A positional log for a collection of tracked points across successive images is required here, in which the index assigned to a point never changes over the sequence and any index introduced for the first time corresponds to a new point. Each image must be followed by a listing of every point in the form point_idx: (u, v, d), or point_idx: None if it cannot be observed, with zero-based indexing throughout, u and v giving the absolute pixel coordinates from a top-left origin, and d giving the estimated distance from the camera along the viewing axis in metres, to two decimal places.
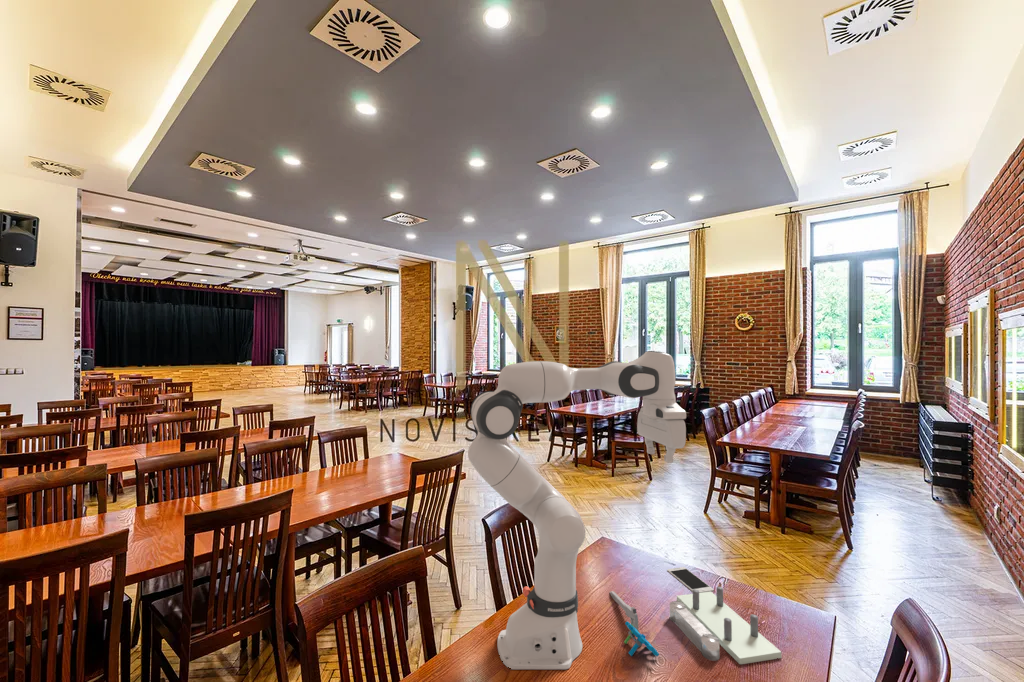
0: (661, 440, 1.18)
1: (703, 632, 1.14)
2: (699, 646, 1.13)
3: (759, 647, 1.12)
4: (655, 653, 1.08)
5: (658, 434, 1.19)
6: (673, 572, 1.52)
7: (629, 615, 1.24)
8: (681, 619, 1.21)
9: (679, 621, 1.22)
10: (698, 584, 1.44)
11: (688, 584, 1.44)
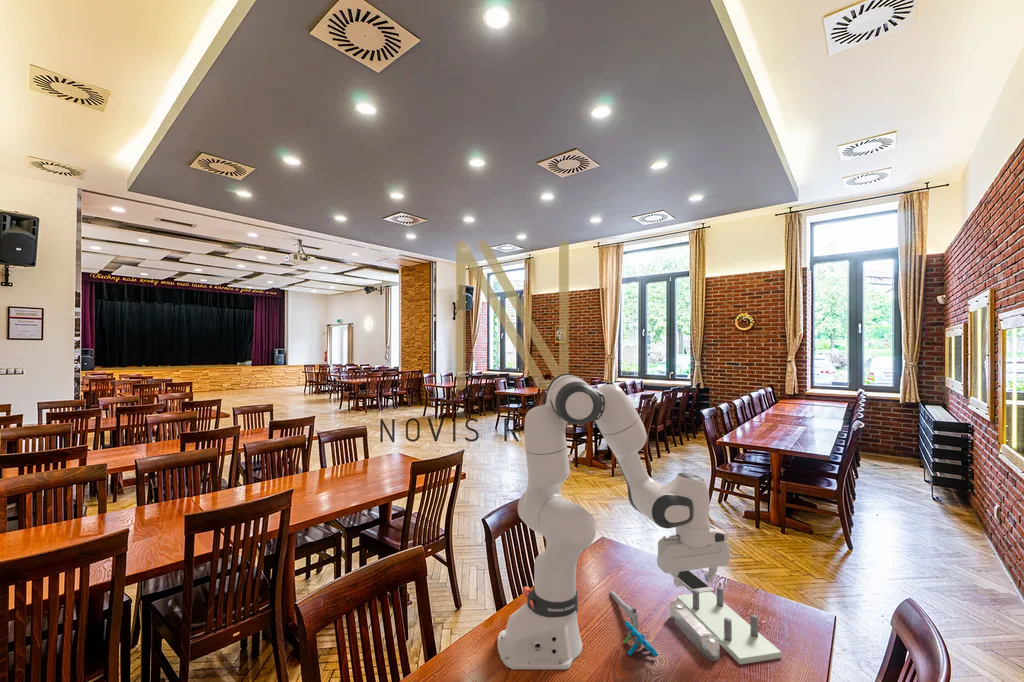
0: (711, 563, 1.18)
1: (703, 632, 1.14)
2: (699, 646, 1.13)
3: (759, 647, 1.12)
4: (654, 653, 1.08)
5: (706, 560, 1.18)
6: None
7: (629, 615, 1.24)
8: (681, 619, 1.21)
9: (679, 621, 1.22)
10: (698, 584, 1.44)
11: (687, 584, 1.44)
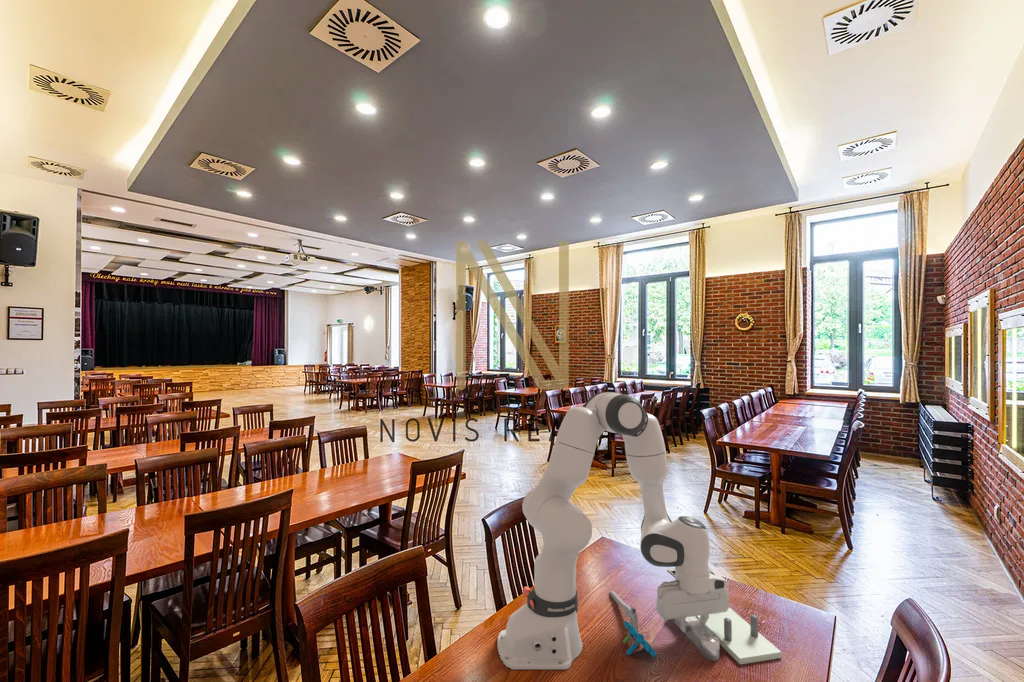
0: (710, 610, 1.18)
1: (703, 631, 1.14)
2: (699, 646, 1.13)
3: (759, 647, 1.12)
4: (652, 653, 1.08)
5: (705, 606, 1.18)
6: (673, 572, 1.52)
7: (629, 615, 1.24)
8: None
9: (679, 621, 1.22)
10: None
11: None
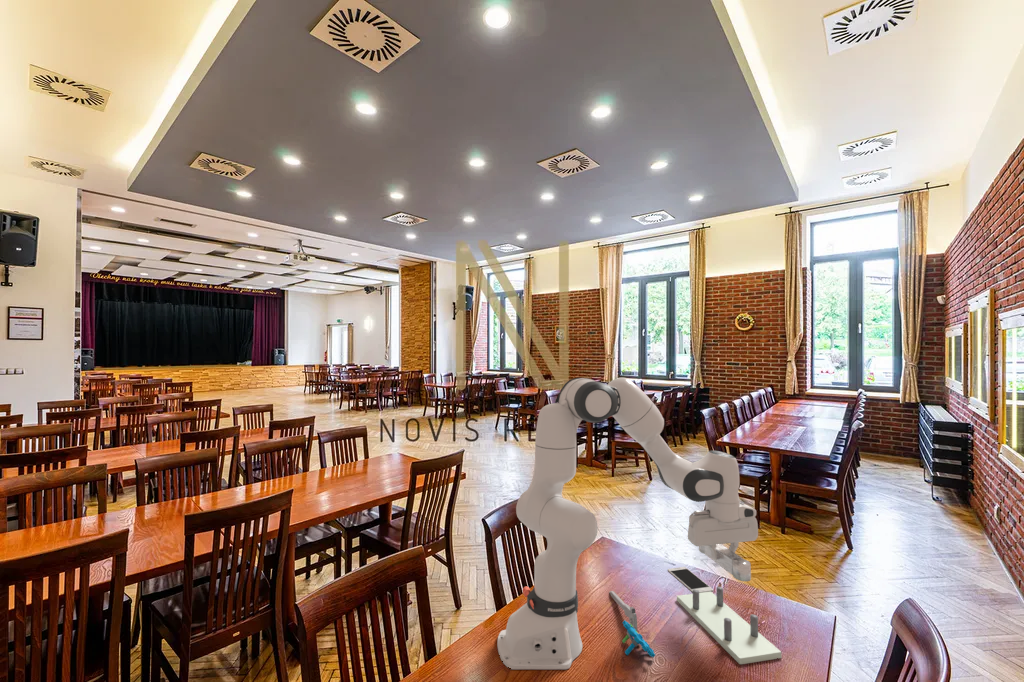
0: (740, 538, 1.22)
1: (734, 556, 1.19)
2: (730, 570, 1.18)
3: (759, 647, 1.12)
4: (650, 654, 1.08)
5: (735, 534, 1.22)
6: (673, 572, 1.52)
7: (628, 615, 1.24)
8: None
9: (709, 551, 1.27)
10: (698, 584, 1.44)
11: (687, 584, 1.44)
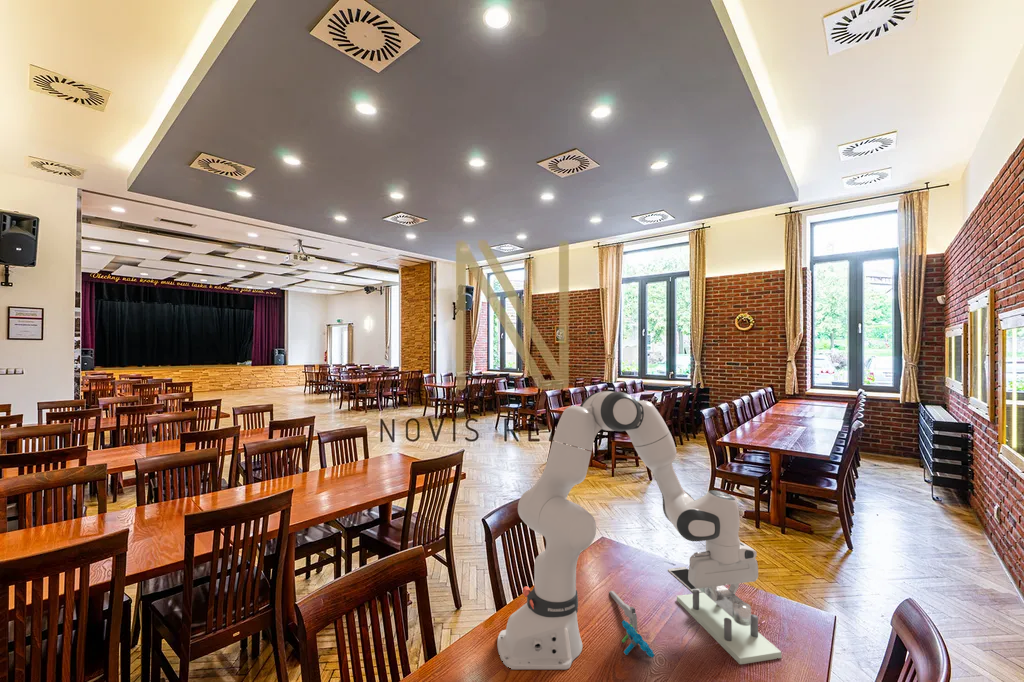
0: (740, 579, 1.22)
1: (734, 599, 1.19)
2: (731, 612, 1.18)
3: (759, 647, 1.12)
4: (649, 654, 1.08)
5: (736, 576, 1.22)
6: (673, 572, 1.52)
7: (628, 615, 1.24)
8: None
9: (709, 591, 1.27)
10: None
11: (687, 584, 1.44)
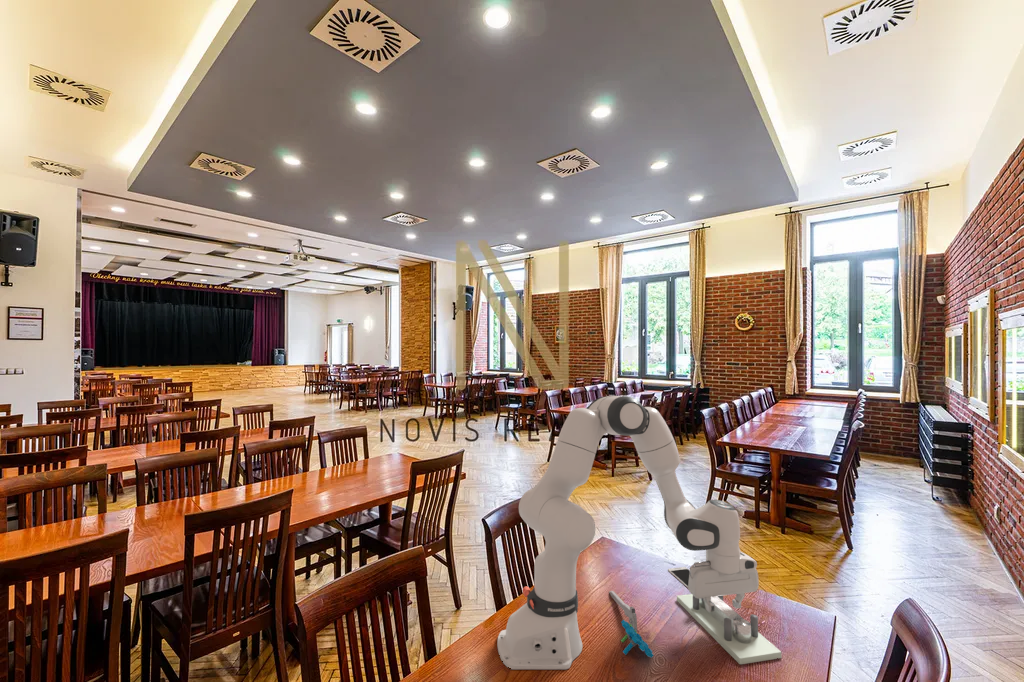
0: (741, 590, 1.22)
1: (735, 616, 1.19)
2: None
3: (759, 647, 1.12)
4: (648, 654, 1.08)
5: (736, 586, 1.22)
6: (673, 572, 1.52)
7: (628, 615, 1.24)
8: None
9: None
10: None
11: (687, 584, 1.44)
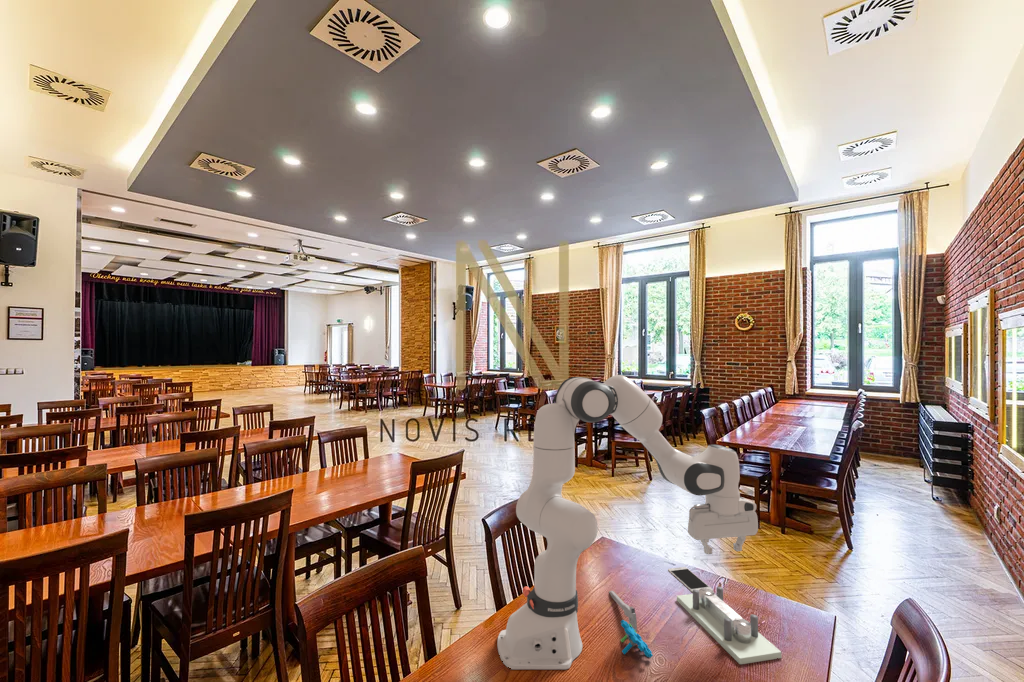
0: (740, 532, 1.22)
1: (735, 616, 1.19)
2: None
3: (759, 647, 1.12)
4: (647, 654, 1.08)
5: (735, 528, 1.22)
6: (673, 572, 1.52)
7: (628, 614, 1.24)
8: (711, 605, 1.26)
9: (709, 607, 1.26)
10: (698, 584, 1.44)
11: (687, 584, 1.44)
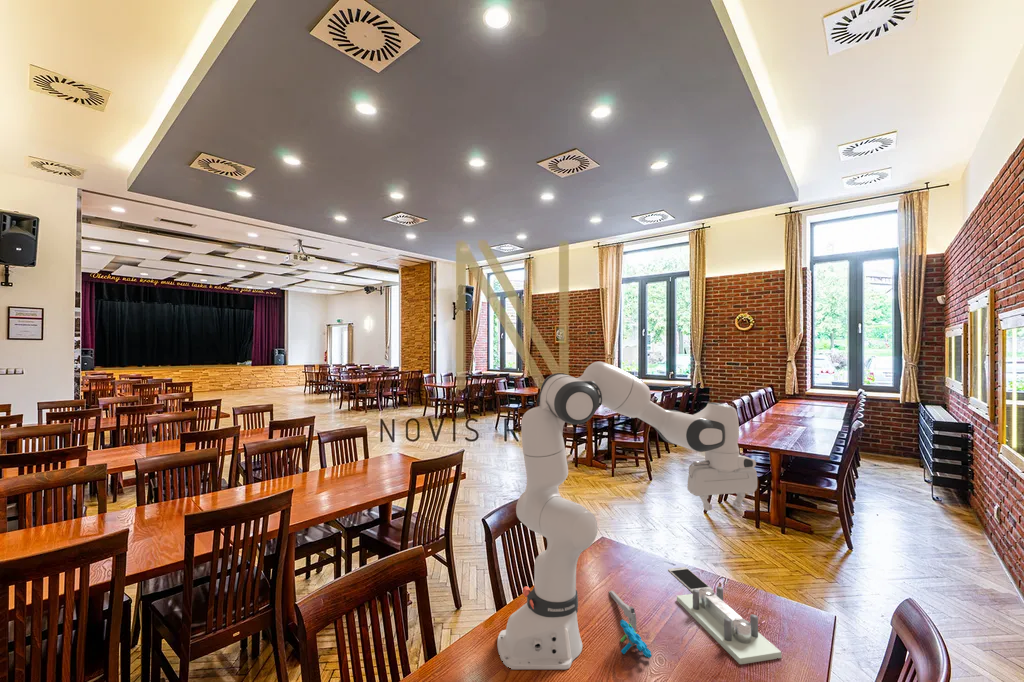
0: (740, 489, 1.23)
1: (735, 616, 1.19)
2: None
3: (759, 647, 1.12)
4: (645, 654, 1.08)
5: (735, 485, 1.22)
6: (674, 572, 1.52)
7: (627, 614, 1.24)
8: (711, 605, 1.26)
9: (709, 607, 1.26)
10: (697, 584, 1.44)
11: (687, 584, 1.44)
